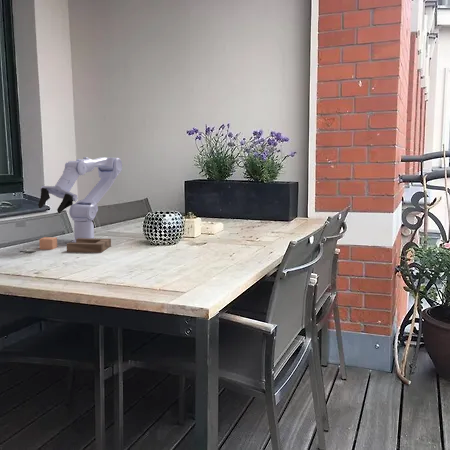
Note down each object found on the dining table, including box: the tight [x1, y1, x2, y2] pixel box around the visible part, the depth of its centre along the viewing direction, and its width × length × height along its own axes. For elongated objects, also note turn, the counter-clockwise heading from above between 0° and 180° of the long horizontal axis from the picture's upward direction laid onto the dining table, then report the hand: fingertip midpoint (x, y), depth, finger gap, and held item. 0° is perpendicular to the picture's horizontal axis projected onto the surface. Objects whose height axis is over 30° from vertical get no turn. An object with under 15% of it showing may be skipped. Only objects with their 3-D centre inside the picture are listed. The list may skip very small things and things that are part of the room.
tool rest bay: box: [66, 237, 112, 254], centre depth 197 cm, size 14×13×3 cm
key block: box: [38, 236, 58, 250], centre depth 197 cm, size 5×5×4 cm
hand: (48, 209), depth 193 cm, fingers open, 7 cm apart
